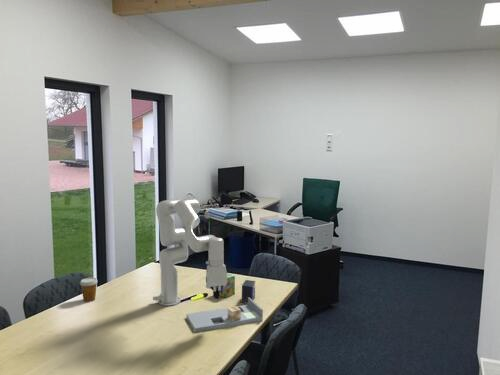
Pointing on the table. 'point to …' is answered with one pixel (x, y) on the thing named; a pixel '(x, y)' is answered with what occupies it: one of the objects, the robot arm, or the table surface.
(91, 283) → the disposable coffee cup
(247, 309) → the trap deck
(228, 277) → the chalk box
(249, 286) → the small box
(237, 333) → the table surface
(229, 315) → the beech block
